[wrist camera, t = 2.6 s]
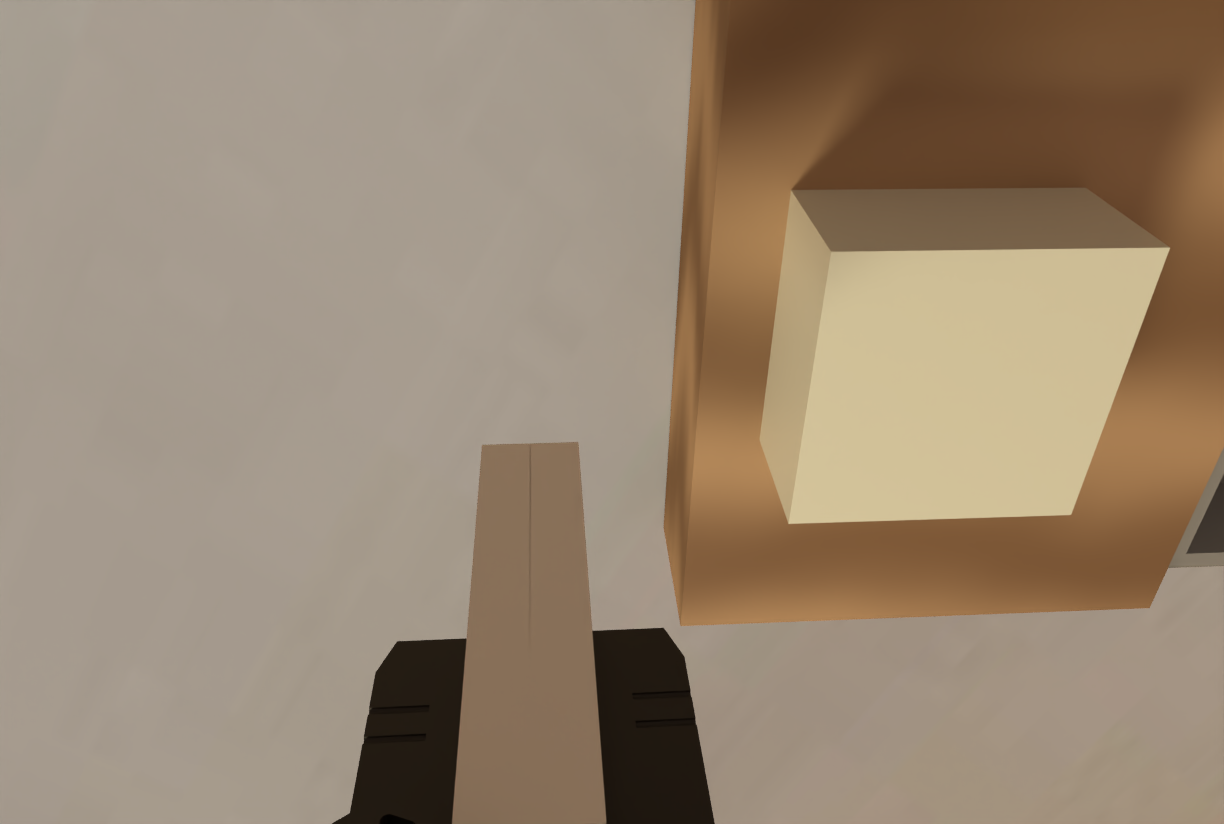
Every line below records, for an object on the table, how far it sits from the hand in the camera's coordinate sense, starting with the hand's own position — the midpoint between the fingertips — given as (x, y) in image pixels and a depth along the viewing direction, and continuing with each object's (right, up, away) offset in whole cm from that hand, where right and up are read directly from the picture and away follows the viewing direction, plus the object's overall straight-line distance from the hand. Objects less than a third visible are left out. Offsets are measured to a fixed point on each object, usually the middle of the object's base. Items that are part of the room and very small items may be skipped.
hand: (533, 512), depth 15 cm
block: (+8, +4, +5) cm, 10 cm away
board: (+10, +6, +8) cm, 14 cm away
